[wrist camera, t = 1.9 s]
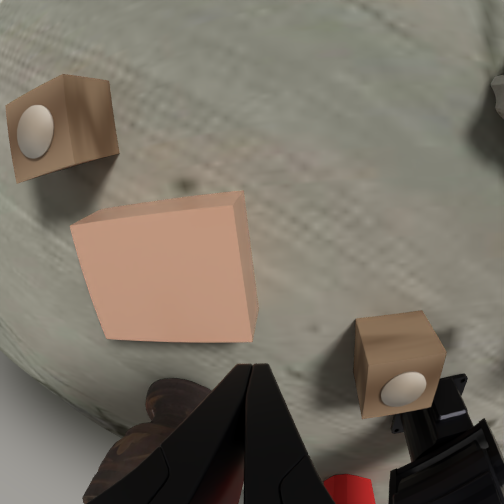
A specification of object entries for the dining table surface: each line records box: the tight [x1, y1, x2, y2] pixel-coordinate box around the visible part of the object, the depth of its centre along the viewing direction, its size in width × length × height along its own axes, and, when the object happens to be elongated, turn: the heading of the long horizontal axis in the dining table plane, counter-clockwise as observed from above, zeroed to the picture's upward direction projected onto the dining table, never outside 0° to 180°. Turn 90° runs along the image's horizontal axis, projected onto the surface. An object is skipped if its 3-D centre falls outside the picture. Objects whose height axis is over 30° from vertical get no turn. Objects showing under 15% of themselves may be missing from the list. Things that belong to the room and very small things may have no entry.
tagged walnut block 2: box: [353, 310, 447, 419], centre depth 19 cm, size 5×5×5 cm
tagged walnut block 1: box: [6, 74, 119, 183], centre depth 16 cm, size 5×5×5 cm
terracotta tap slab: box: [70, 190, 259, 342], centre depth 19 cm, size 8×10×4 cm
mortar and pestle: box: [83, 378, 212, 504], centre depth 17 cm, size 12×9×20 cm
